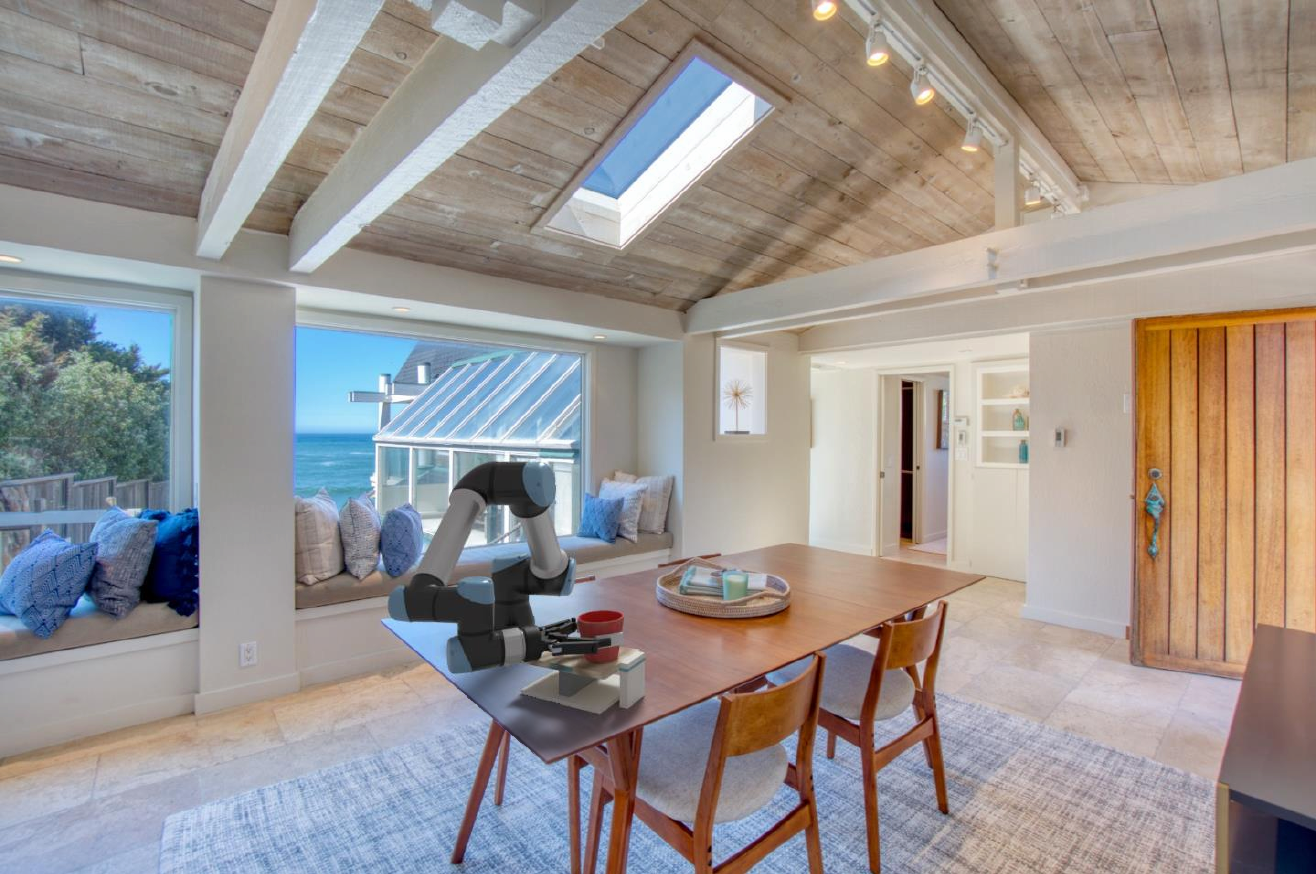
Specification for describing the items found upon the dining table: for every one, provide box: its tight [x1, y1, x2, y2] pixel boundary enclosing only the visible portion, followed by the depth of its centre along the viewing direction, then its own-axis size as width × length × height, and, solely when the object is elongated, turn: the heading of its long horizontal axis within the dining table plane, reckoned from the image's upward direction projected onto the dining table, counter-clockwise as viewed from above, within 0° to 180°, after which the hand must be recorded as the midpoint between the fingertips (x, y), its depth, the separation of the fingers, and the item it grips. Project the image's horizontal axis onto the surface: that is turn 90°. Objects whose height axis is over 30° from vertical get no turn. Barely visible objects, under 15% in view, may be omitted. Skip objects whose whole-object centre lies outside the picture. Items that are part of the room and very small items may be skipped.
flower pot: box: [576, 609, 625, 663], centre depth 140 cm, size 11×11×10 cm
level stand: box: [520, 650, 646, 715], centre depth 142 cm, size 26×18×10 cm
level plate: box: [521, 646, 641, 680], centre depth 142 cm, size 23×16×2 cm
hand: (612, 630), depth 141 cm, fingers open, 12 cm apart
